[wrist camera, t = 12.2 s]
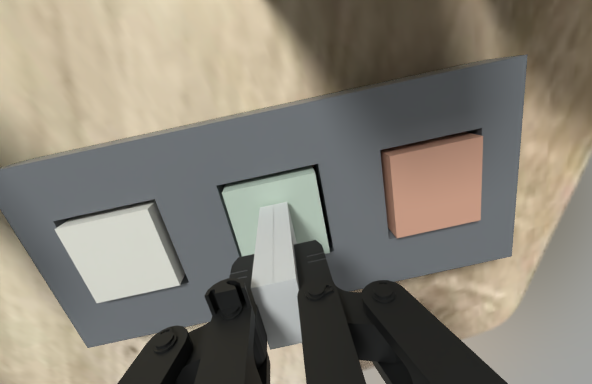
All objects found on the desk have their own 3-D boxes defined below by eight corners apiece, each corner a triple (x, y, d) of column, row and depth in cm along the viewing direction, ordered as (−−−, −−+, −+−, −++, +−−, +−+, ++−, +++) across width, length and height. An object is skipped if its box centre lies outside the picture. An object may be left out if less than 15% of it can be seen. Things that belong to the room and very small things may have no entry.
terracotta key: (377, 214, 20) (396, 238, 17) (369, 144, 18) (389, 156, 15) (448, 199, 20) (480, 220, 17) (447, 127, 18) (483, 136, 15)
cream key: (124, 269, 20) (96, 303, 17) (91, 204, 18) (54, 229, 15) (194, 254, 20) (179, 285, 17) (168, 188, 18) (147, 209, 15)
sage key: (250, 242, 20) (246, 270, 17) (230, 174, 18) (221, 192, 15) (321, 226, 20) (330, 252, 17) (308, 157, 18) (314, 172, 15)
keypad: (112, 313, 21) (87, 348, 19) (26, 159, 17) (-23, 174, 14) (480, 233, 21) (511, 256, 18) (485, 59, 17) (527, 54, 14)
